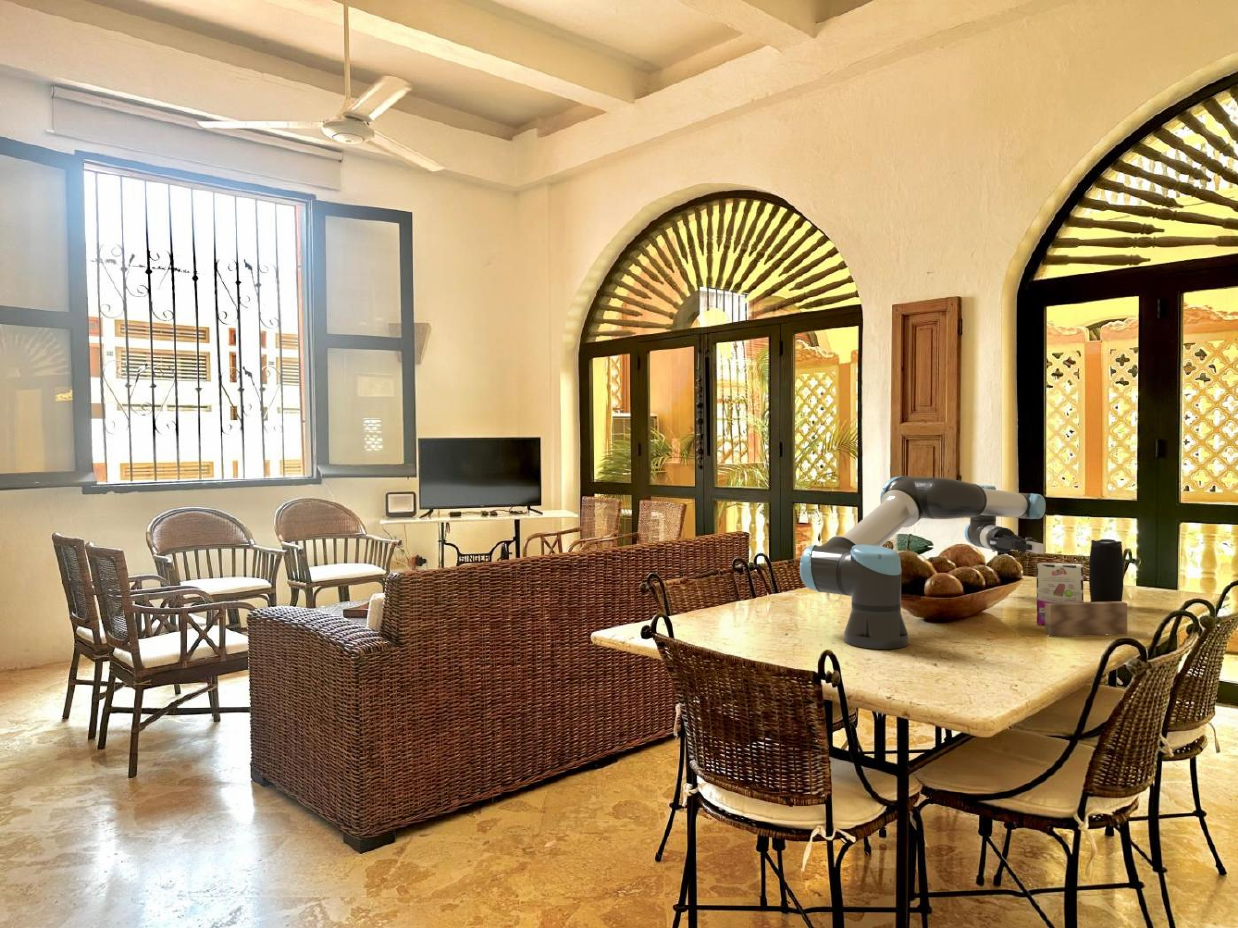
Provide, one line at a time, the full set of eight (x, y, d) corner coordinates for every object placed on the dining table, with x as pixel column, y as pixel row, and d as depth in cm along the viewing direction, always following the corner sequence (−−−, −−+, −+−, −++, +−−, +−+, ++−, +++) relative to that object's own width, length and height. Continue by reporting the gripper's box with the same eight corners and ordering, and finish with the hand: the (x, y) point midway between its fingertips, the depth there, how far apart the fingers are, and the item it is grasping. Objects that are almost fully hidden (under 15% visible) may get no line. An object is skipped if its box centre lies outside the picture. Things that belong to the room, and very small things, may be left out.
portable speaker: (1087, 607, 253) (1087, 541, 252) (1092, 602, 260) (1092, 537, 260) (1120, 610, 247) (1121, 542, 247) (1125, 605, 255) (1125, 539, 255)
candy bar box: (1083, 625, 230) (1083, 563, 229) (1083, 628, 225) (1084, 566, 225) (1036, 621, 235) (1037, 561, 235) (1036, 624, 231) (1036, 563, 230)
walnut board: (1050, 636, 217) (1050, 604, 217) (1044, 634, 219) (1044, 603, 219) (1127, 634, 218) (1127, 603, 218) (1120, 632, 221) (1120, 601, 220)
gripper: (1019, 550, 263) (1063, 561, 240) (977, 551, 262) (1018, 563, 239) (1019, 526, 263) (1063, 534, 240) (977, 527, 262) (1018, 536, 239)
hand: (1041, 548), depth 239 cm, fingers closed
